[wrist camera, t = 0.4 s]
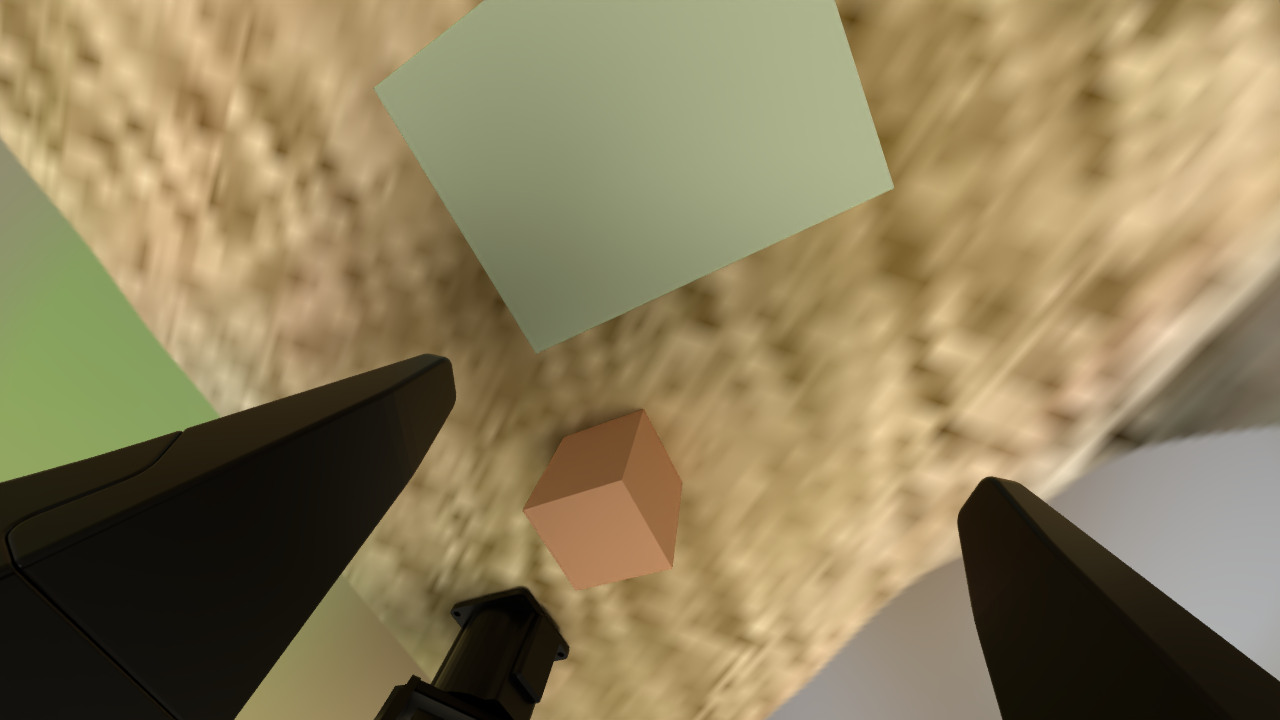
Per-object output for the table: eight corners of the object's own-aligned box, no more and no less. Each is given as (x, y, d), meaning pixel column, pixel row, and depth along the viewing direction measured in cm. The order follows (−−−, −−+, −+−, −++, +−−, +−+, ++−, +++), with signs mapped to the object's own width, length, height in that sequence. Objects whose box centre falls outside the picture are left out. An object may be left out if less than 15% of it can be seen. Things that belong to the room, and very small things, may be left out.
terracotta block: (604, 504, 27) (576, 590, 22) (564, 436, 26) (522, 510, 20) (682, 482, 26) (672, 568, 20) (643, 408, 24) (621, 480, 19)
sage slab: (560, 328, 20) (536, 353, 18) (427, 99, 18) (373, 88, 15) (865, 183, 16) (894, 188, 14) (755, -145, 13) (764, -222, 11)
